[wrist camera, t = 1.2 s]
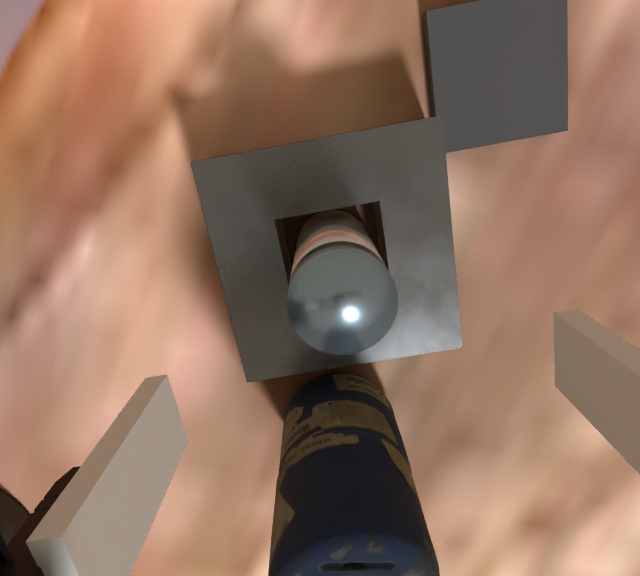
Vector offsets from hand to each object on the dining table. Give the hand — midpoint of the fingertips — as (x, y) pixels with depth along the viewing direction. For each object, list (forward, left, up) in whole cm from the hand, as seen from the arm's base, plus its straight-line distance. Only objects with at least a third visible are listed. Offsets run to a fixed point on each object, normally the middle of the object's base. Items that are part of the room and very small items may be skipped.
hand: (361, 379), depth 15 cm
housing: (0, 0, -21) cm, 21 cm away
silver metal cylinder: (0, 0, -21) cm, 21 cm away
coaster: (+13, +10, -21) cm, 26 cm away
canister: (-2, -15, -21) cm, 26 cm away
